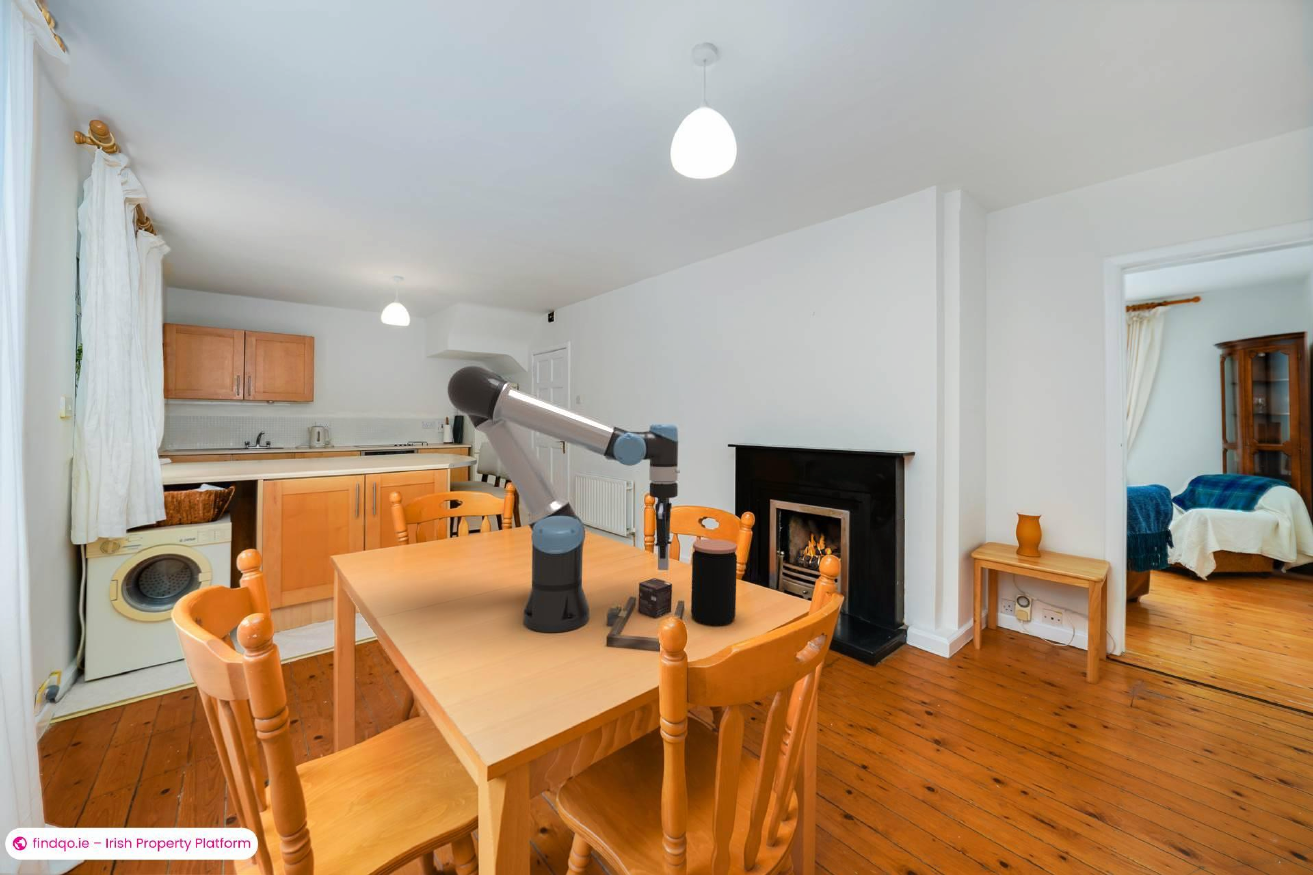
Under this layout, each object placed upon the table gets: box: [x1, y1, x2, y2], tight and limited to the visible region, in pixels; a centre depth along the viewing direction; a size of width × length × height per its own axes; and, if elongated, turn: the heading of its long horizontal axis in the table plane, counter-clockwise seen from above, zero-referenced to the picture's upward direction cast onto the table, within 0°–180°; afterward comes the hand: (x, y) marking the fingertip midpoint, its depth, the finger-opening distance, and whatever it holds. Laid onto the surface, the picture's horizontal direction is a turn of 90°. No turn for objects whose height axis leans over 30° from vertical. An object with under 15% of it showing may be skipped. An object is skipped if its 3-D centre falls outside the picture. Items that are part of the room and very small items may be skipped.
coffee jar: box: [690, 538, 738, 627], centre depth 120 cm, size 11×11×18 cm
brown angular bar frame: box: [606, 596, 685, 652], centre depth 115 cm, size 17×24×4 cm
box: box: [638, 577, 673, 619], centre depth 123 cm, size 6×6×7 cm
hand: (663, 569), depth 133 cm, fingers closed
